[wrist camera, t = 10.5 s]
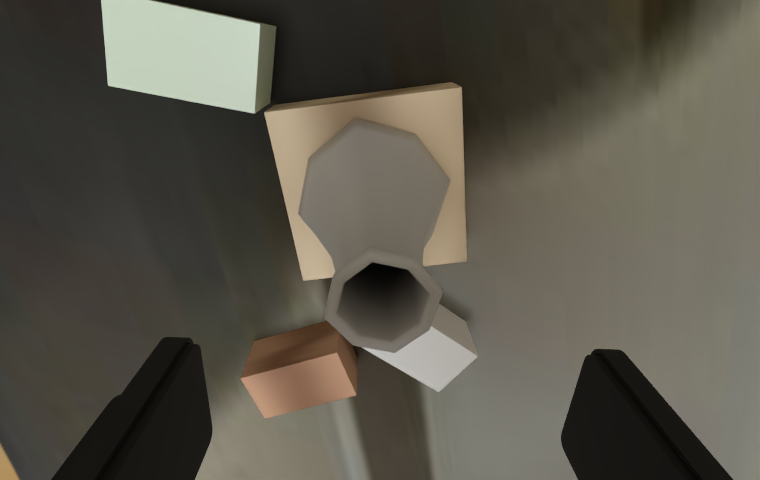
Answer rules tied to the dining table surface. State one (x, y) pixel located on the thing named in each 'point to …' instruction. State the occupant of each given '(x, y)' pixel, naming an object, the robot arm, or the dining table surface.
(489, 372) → the dining table surface
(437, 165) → the flask
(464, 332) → the grey brick
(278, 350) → the cherry brick
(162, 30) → the sage brick
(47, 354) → the dining table surface
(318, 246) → the oak block
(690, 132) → the dining table surface
